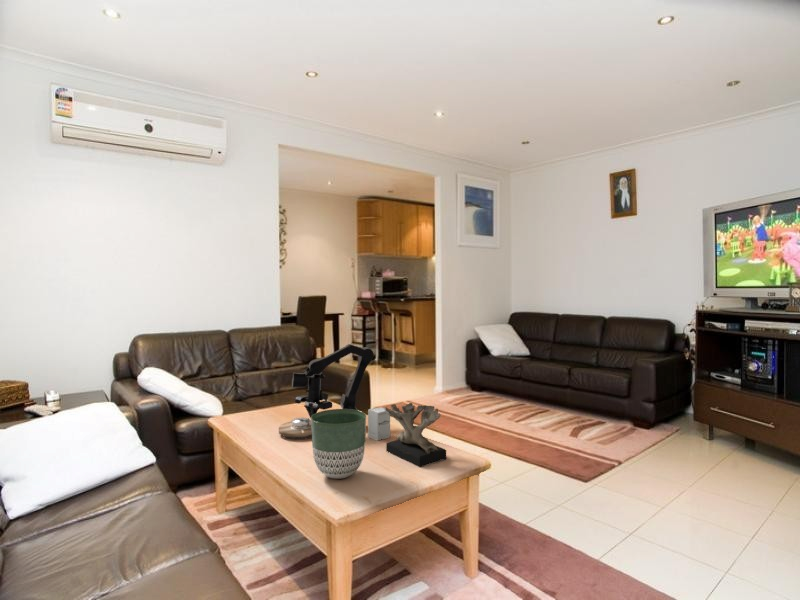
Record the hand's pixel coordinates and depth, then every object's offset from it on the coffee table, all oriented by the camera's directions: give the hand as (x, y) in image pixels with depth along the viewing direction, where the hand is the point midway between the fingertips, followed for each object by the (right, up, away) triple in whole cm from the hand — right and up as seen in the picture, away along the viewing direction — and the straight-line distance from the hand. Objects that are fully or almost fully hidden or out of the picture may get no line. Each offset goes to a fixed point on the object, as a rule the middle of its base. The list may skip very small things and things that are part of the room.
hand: (312, 420), depth 213 cm
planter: (+19, -6, -51) cm, 55 cm away
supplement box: (+32, -5, -10) cm, 34 cm away
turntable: (-4, -3, -4) cm, 7 cm away
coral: (+46, -6, -35) cm, 58 cm away
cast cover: (-5, -2, -4) cm, 6 cm away
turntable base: (-4, -5, -4) cm, 8 cm away
